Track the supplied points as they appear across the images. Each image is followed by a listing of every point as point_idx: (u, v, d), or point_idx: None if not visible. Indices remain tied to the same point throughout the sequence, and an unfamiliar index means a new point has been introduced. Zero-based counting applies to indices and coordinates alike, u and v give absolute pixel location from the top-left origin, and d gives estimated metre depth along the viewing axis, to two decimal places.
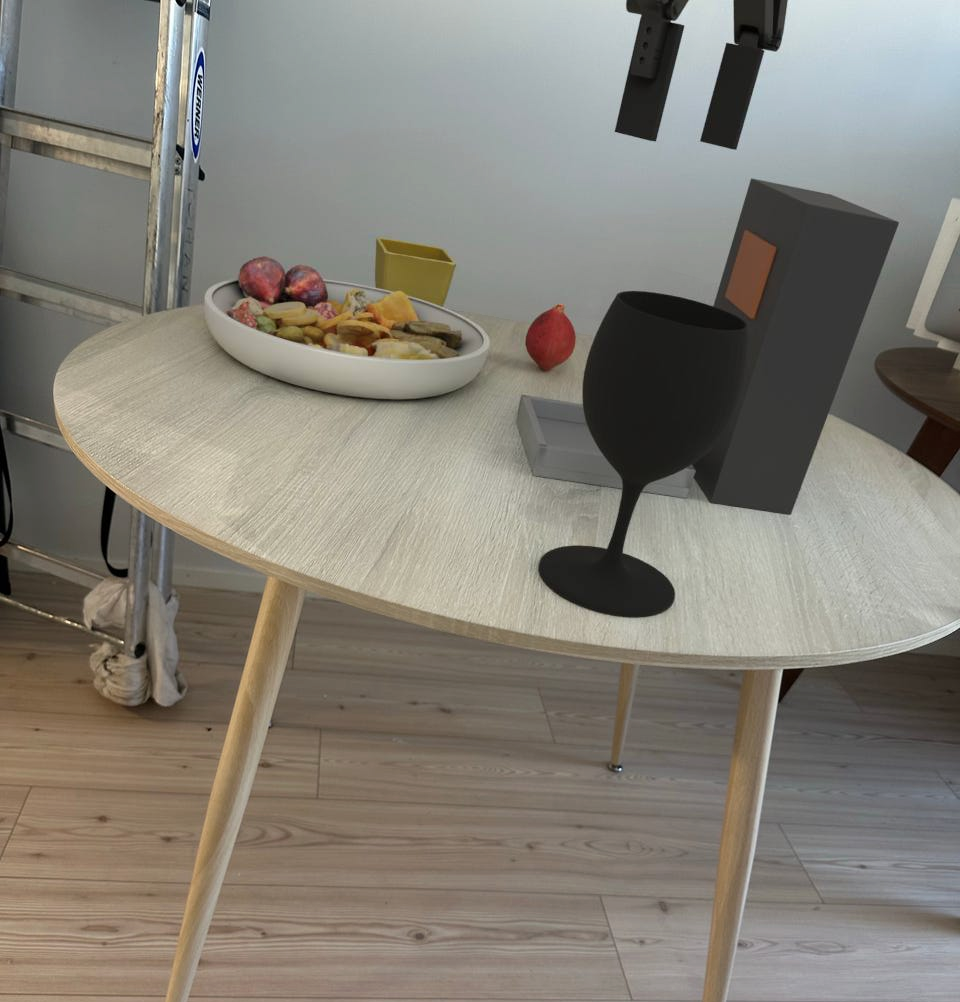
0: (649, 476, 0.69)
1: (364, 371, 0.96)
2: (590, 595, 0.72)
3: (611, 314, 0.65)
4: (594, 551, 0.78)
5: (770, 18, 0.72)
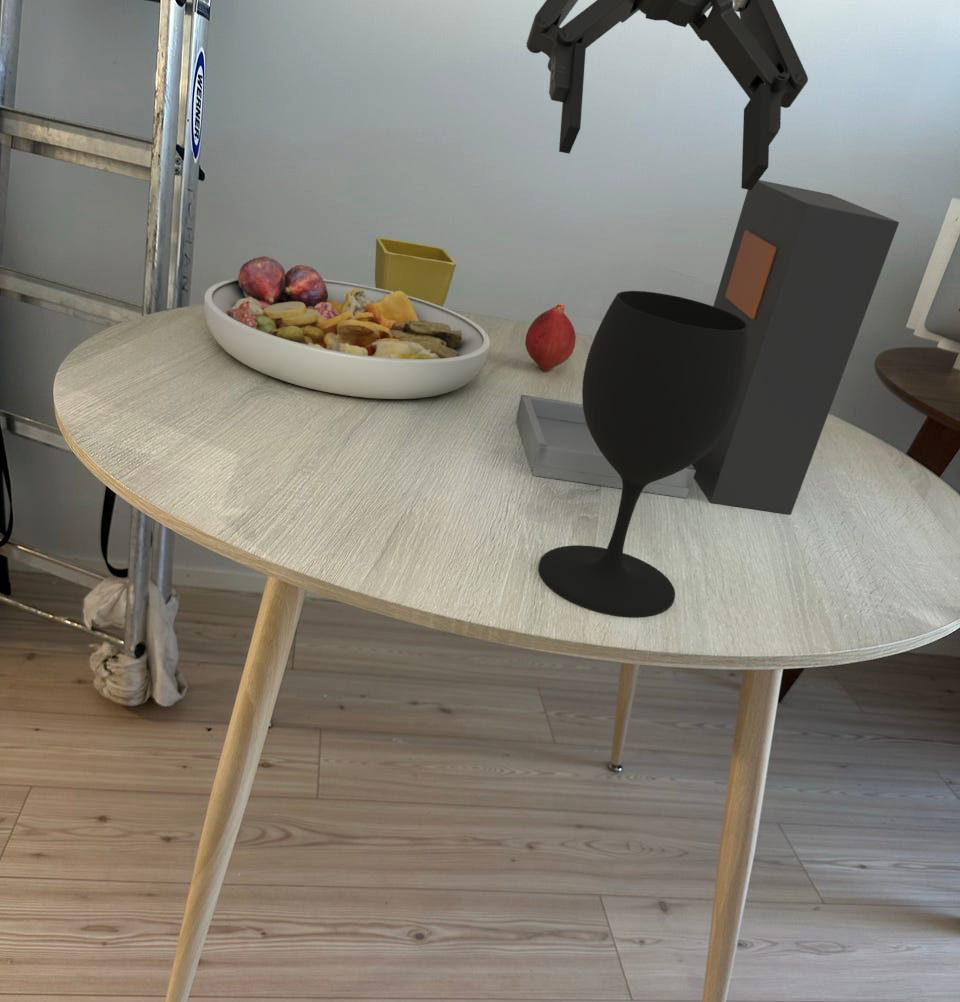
0: (649, 476, 0.69)
1: (364, 371, 0.96)
2: (590, 595, 0.72)
3: (611, 314, 0.65)
4: (594, 551, 0.78)
5: (767, 62, 0.73)
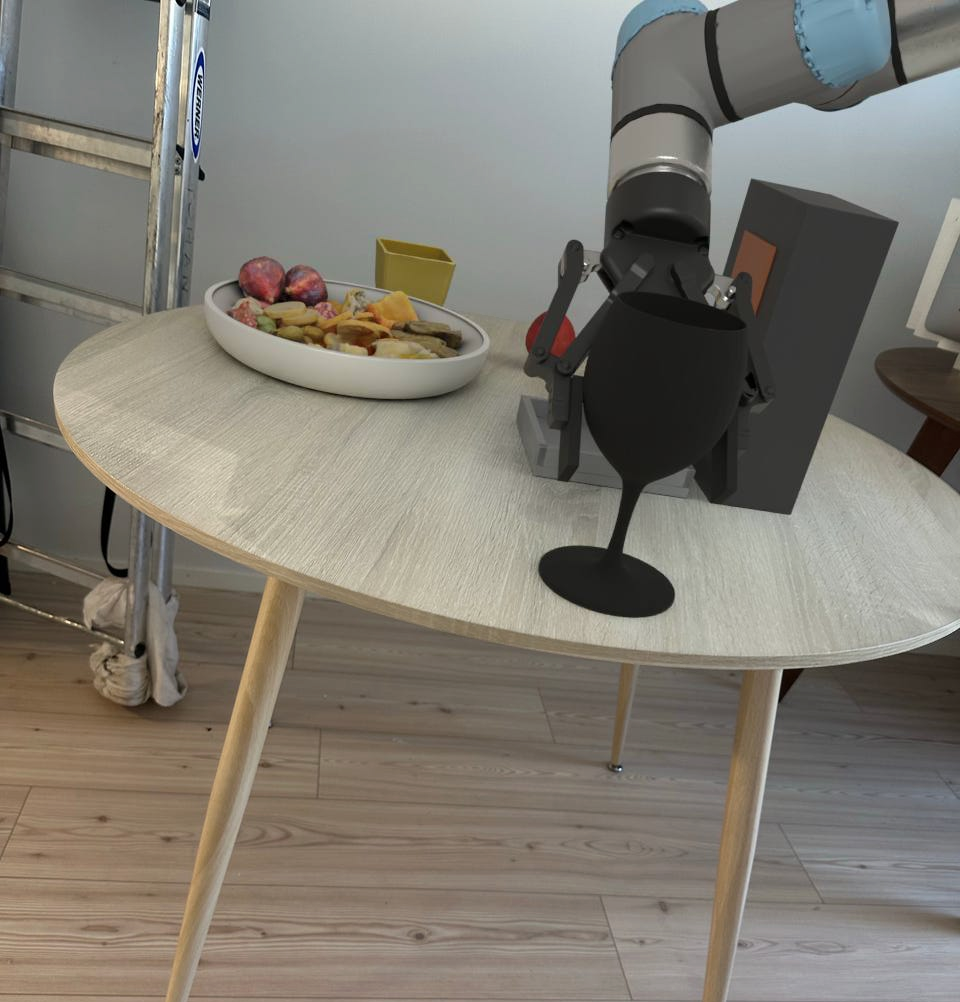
0: (649, 476, 0.69)
1: (364, 371, 0.96)
2: (590, 595, 0.72)
3: (611, 314, 0.65)
4: (594, 551, 0.78)
5: None
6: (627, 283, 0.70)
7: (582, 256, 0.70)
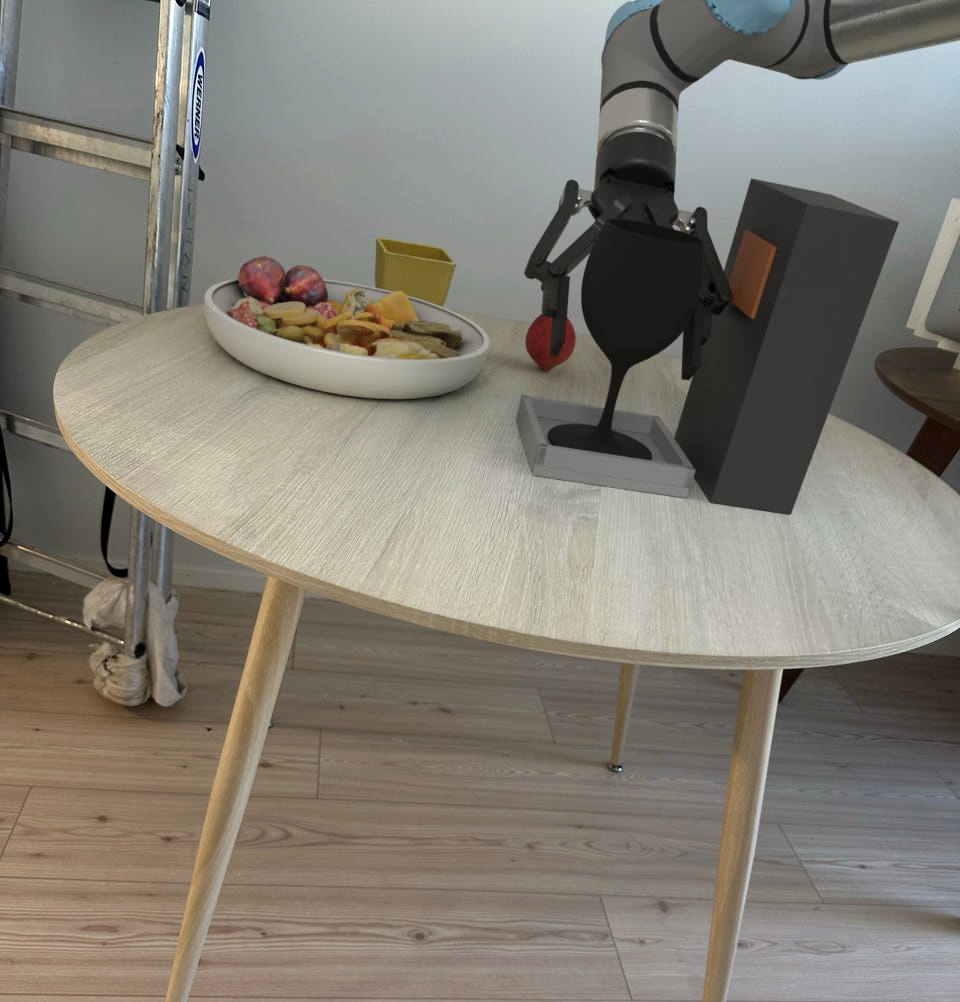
0: (631, 358, 0.92)
1: (364, 371, 0.96)
2: None
3: (602, 233, 0.88)
4: (590, 427, 1.01)
5: None
6: (609, 213, 0.93)
7: (577, 192, 0.93)
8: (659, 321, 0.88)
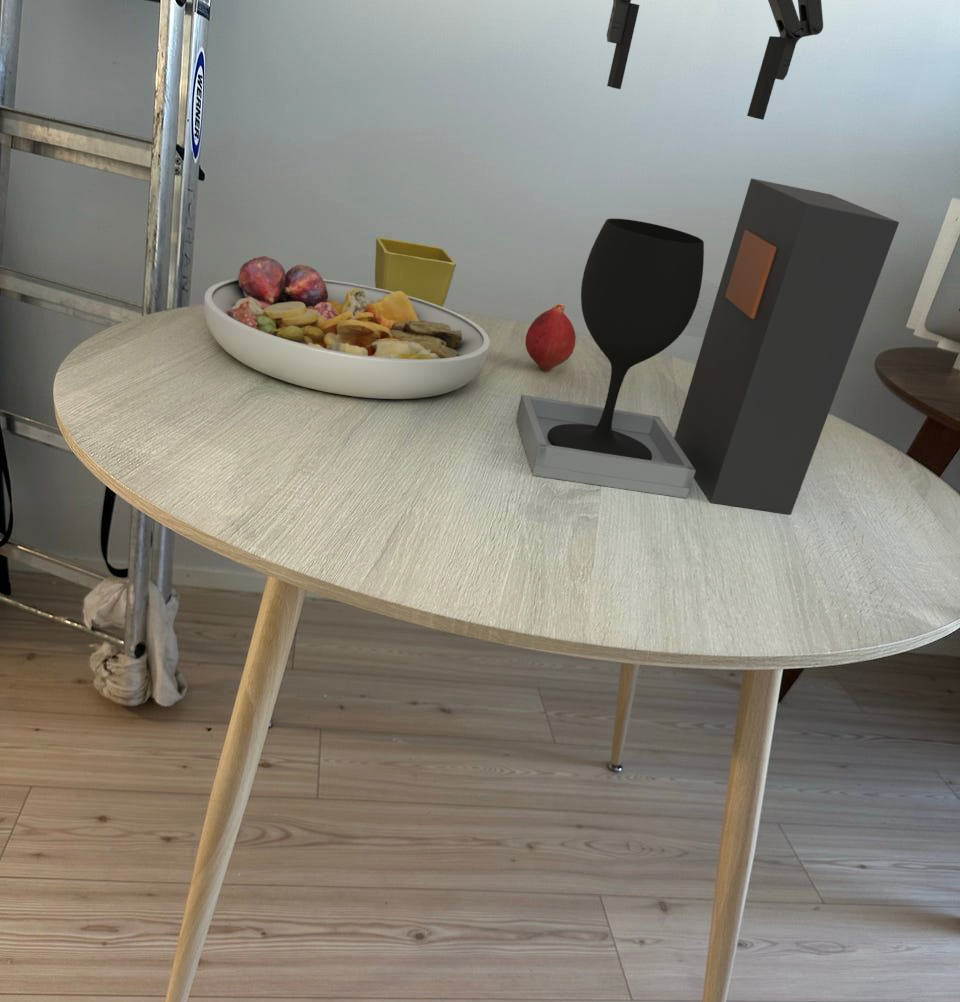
0: (631, 358, 0.92)
1: (364, 371, 0.96)
2: None
3: (602, 233, 0.88)
4: (590, 427, 1.01)
5: (791, 12, 0.89)
6: None
7: None
8: (659, 321, 0.88)
